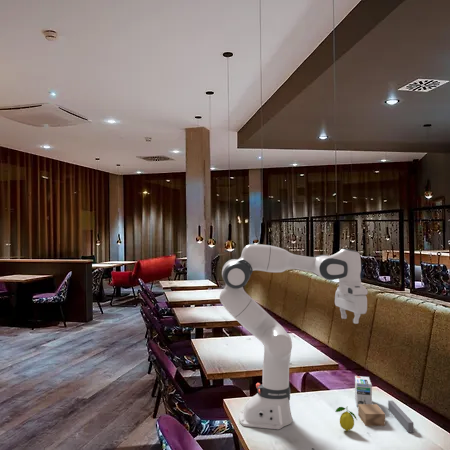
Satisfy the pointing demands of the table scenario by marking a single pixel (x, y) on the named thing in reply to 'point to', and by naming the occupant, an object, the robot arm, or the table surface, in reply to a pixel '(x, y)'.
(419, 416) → the table surface
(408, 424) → the board
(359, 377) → the light bulb box
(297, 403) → the table surface
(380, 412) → the walnut block
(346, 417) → the lemon
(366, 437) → the table surface
